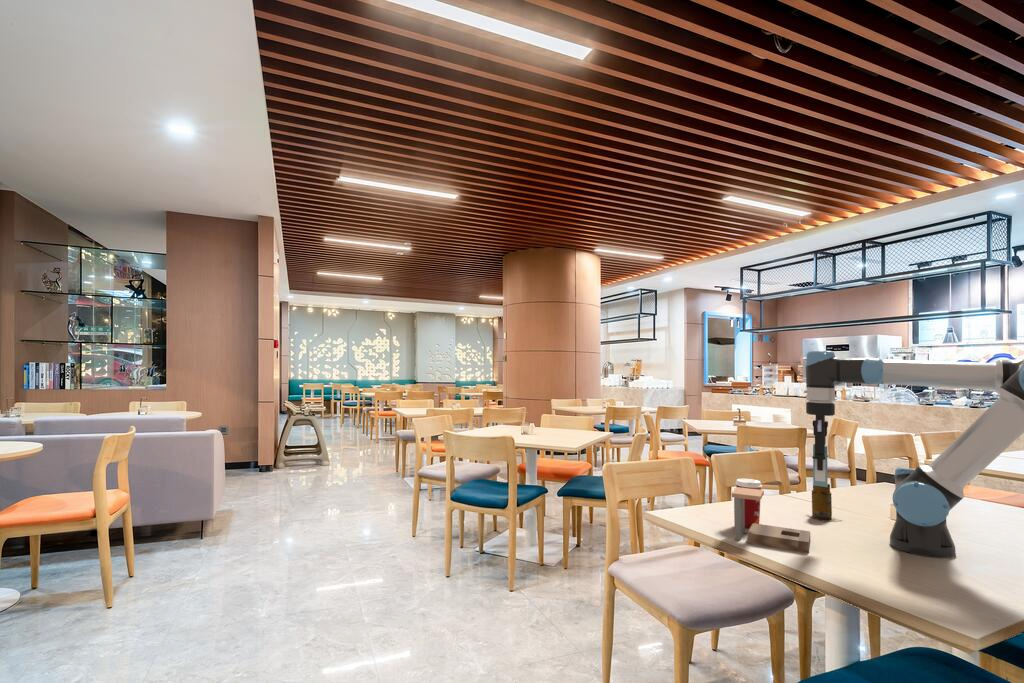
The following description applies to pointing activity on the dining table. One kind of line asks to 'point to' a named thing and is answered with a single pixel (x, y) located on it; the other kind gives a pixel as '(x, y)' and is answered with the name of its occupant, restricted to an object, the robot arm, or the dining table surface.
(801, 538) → the socket block
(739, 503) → the toy block arch
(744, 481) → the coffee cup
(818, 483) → the peg
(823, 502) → the condiment
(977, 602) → the dining table surface
